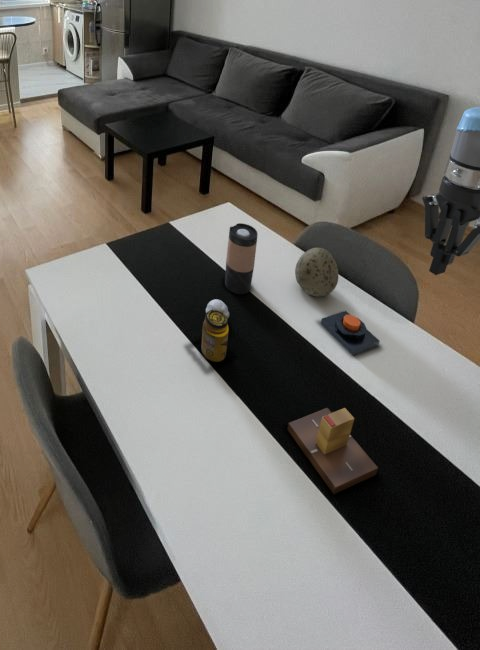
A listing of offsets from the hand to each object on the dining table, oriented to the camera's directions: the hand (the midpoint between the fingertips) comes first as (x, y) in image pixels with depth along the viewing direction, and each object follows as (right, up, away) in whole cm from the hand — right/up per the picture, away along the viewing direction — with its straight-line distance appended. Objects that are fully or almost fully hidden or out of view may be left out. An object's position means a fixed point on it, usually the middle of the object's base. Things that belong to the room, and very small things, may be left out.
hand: (436, 271), depth 96 cm
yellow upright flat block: (-31, -30, -12) cm, 45 cm away
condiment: (-48, -25, +11) cm, 55 cm away
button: (-12, -18, +12) cm, 25 cm away
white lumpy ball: (-44, -21, +20) cm, 52 cm away
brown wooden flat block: (-31, -33, -11) cm, 46 cm away
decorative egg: (-13, -16, +28) cm, 35 cm away
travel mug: (-34, -16, +31) cm, 49 cm away
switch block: (-11, -22, +14) cm, 28 cm away
